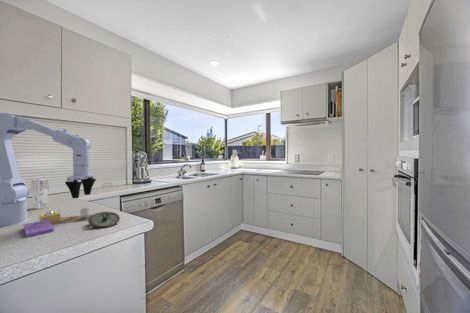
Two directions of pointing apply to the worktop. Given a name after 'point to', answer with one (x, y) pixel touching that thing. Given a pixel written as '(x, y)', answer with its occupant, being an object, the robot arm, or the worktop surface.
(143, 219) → the worktop surface
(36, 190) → the beer glass
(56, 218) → the collar
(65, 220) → the stand board
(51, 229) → the sponges
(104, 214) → the lid
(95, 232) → the worktop surface
